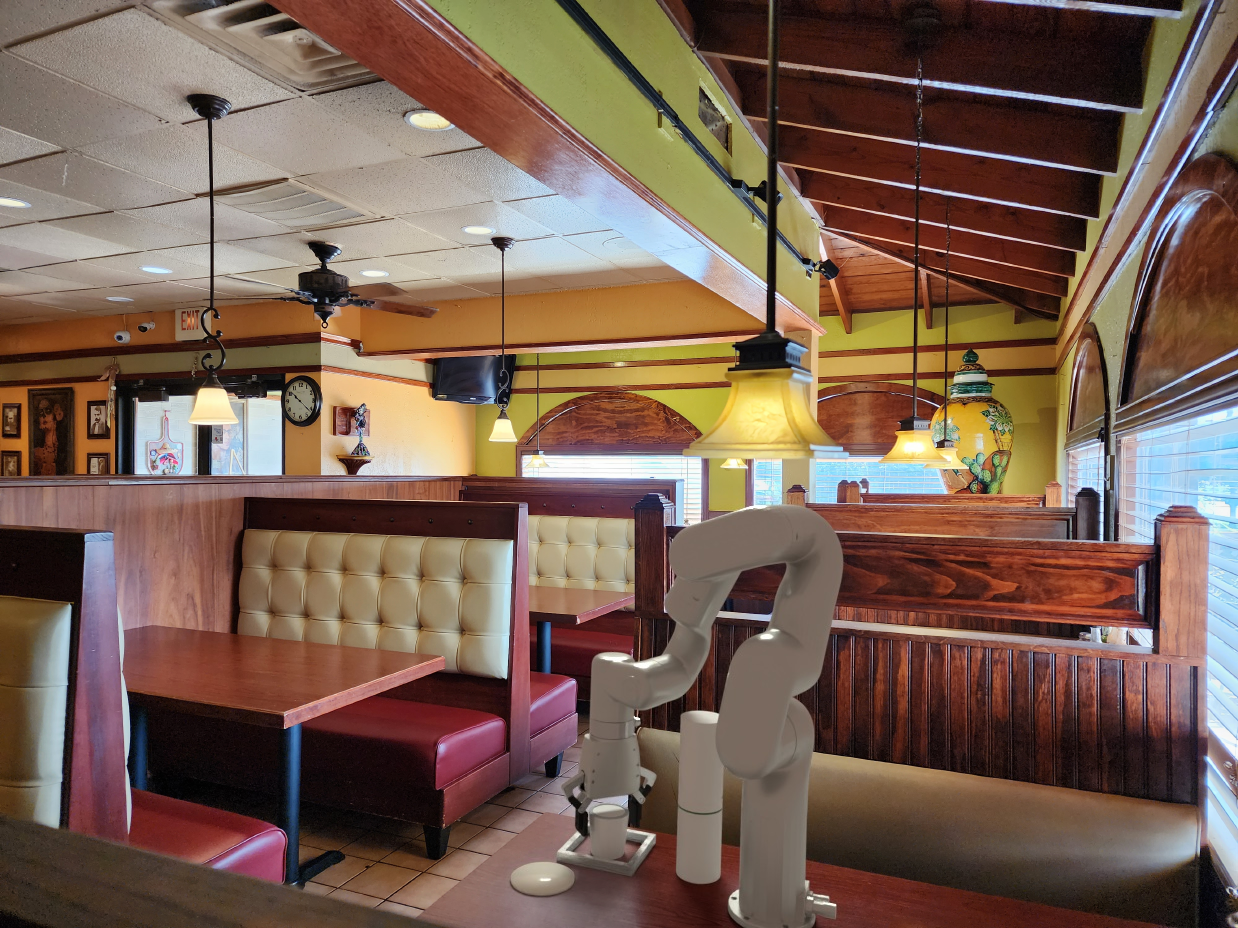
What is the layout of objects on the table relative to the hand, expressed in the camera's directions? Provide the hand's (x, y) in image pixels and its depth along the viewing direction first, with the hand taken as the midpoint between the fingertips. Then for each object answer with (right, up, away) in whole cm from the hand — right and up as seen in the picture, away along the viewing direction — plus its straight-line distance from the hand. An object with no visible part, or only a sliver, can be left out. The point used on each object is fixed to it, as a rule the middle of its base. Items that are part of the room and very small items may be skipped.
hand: (608, 828), depth 136 cm
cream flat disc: (-10, -3, -10) cm, 15 cm away
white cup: (0, -4, 0) cm, 4 cm away
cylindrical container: (+15, -4, -6) cm, 17 cm away
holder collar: (0, -4, 0) cm, 4 cm away
